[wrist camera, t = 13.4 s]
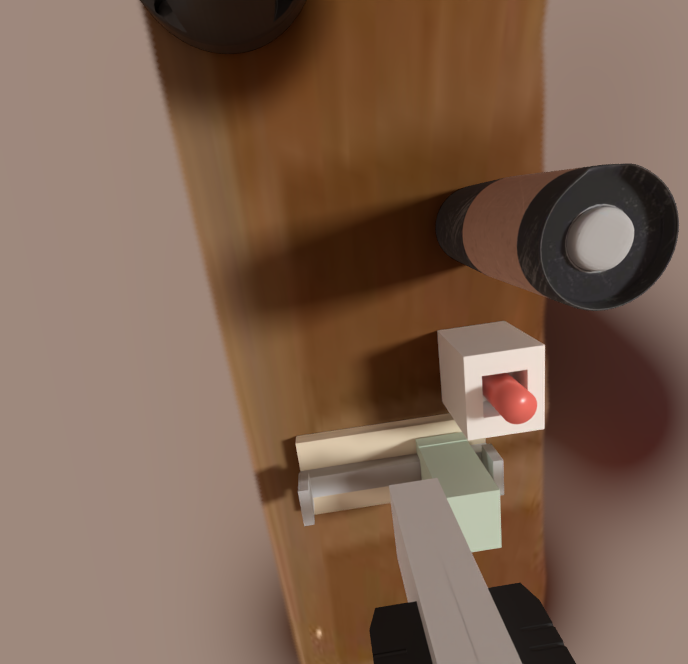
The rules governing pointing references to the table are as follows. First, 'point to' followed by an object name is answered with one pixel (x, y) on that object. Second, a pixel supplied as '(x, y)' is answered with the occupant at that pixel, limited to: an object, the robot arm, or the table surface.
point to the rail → (367, 450)
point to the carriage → (464, 487)
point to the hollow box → (488, 359)
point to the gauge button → (509, 398)
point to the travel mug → (566, 232)
